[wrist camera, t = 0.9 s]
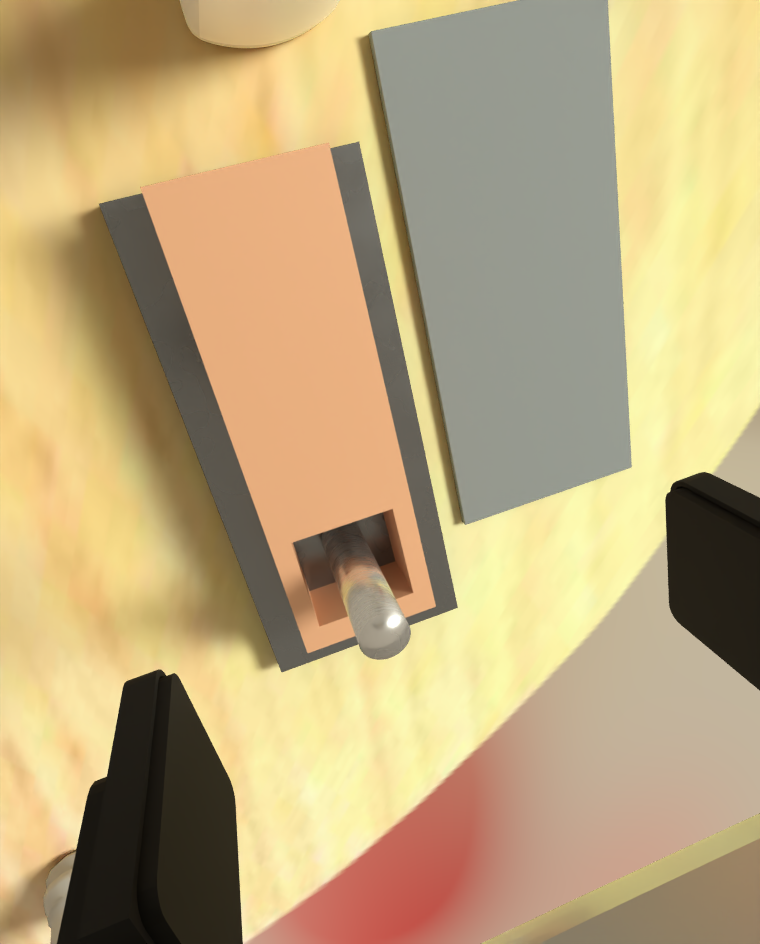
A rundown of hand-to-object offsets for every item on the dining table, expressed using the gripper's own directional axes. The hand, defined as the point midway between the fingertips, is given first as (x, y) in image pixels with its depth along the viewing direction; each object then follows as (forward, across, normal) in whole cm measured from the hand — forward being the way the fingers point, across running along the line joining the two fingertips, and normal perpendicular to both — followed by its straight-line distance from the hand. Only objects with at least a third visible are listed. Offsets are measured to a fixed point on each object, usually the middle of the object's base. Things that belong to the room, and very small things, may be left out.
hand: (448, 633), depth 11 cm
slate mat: (+18, -11, -2) cm, 22 cm away
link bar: (+18, 0, +1) cm, 18 cm away
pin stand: (+18, 0, +2) cm, 19 cm away
